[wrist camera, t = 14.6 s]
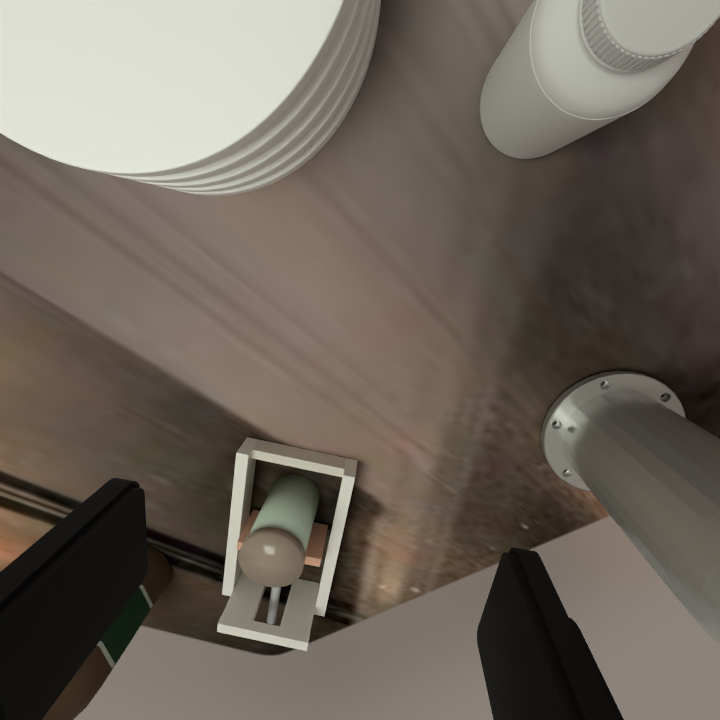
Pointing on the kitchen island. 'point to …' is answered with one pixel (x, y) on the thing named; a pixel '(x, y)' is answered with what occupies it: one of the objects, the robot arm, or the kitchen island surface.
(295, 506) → the jar
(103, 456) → the kitchen island surface
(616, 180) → the kitchen island surface
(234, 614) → the frame
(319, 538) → the pusher
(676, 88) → the kitchen island surface
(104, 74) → the plate stack
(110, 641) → the beer bottle
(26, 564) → the robot arm
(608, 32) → the pill bottle
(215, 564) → the kitchen island surface
